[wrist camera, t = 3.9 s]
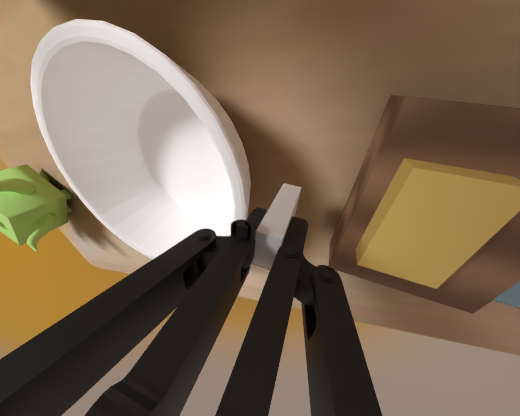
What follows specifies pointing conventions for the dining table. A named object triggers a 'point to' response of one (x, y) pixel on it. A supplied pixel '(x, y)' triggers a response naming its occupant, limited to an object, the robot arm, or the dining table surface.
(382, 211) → the block
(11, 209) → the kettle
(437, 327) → the dining table surface
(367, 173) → the brown wooden slab
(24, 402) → the robot arm
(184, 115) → the bowl
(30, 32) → the dining table surface
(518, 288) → the mat
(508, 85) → the dining table surface
